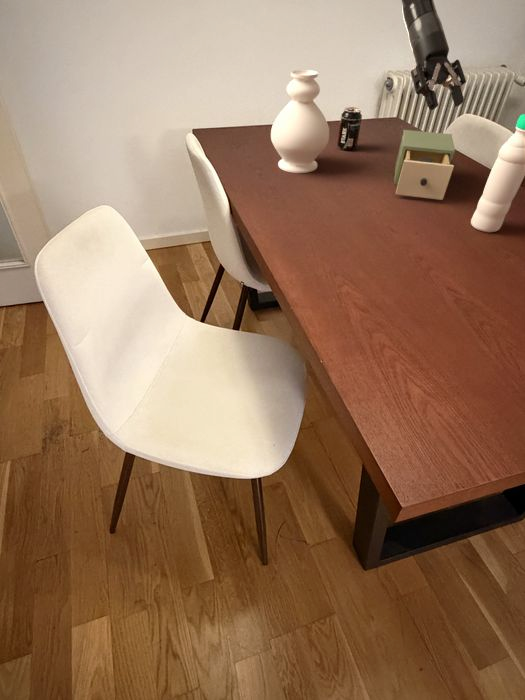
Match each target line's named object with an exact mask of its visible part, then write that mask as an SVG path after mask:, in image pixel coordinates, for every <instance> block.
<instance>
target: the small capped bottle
mask: <svg viewBox="0 0 525 700" xmlns="http://www.w3.org/2000/svg"><path fill="white" fill-rule="evenodd" d="M419 161H421V162H430V163H432V162H433V160H432V159H431V158H427V157H423V158H420V160H419Z"/></svg>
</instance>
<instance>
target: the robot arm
mask: <svg viewBox="0 0 525 700" xmlns="http://www.w3.org/2000/svg"><path fill="white" fill-rule="evenodd" d="M435 4H436V3H435V1H434V0H401V7H402V17H403V22H404V24H405V28H406V31H407V34H408V41H409V45H410V48H411V52H412V55H413V59H414V61H415V64H416V65H415V67H413V69H412V70H411V71H410V75H411V78H412V83H413V86H414V91H415V93H416V95H418V96H419V95H422V96H423V97H424V99H425V102H426V105H427V108H428V109H429V111H434V110H435V109H436V108H437V107H439V102H438V98H437V95H436V91H435V90H434V87H435V85H441V86H442V87H444V88H447V89H448V90H449V91H450V95H451V98H452V101H453V104H454V105H453V106H454V107H459V106H460V105H462V104H463V103H464V102H465V101H464V100H465V99H464V98H465V97H464V95H463V91H462V86H463V85H464V84H466V82H467V79H466V76H465V73H464V71H463V67H462V65H461V62H460V60H459V59H456V60H454V61H453V62H450V61H449V58H448V55H449V52H450V47H449V44H448V41H447V36H446V34H445V30H444V27H443V24H442V21H441V19H440V16H439V14H438V11H437V8H436V5H435ZM458 78H459V79H458ZM452 83H453V84H452Z"/></svg>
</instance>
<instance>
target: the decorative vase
mask: <svg viewBox="0 0 525 700" xmlns="http://www.w3.org/2000/svg"><path fill="white" fill-rule="evenodd" d="M290 76H291V78H293V79H292V80H290V81H289V82H288V84H287V86H286V93H287V96H289V98H290V99H291V100H290V101H289V102H288V103H287V104H286V105H285V106H284V107H283V108H282V110H281V111H280V112H278V114H277V116H276V118H275V119H274V121H273V124H272V126H271V130H270V140H271V144H272V146H273V148H274V149H275V151H276V152H277V153H278V156H280V158H281V159H280V160H279V161H278V163H277V167H278V168H279V169H280V170H282V171H283V172H286V173H293V174H307V173H312V172H314V171H316V170H317V168H318V162H317V161H316V159H317V158H318V156H319V155H320V154H321V153H322V152H323V151H324V150H325V148H326V147H327V145H328V143H329V141H330V127H329V124H328V121H327V119H326V117H325V115H324V113H323V112H322V110H321V109H320V107H319V106H318V105H317V103H316V102H315V101H314V100H315V99H316V98H317V97H318V96H319V94H320V92H321V87H320V85H319V83H318V81H316V80H315V79H316V78H317V77H318V76H319V72H318V71H316V70H312V69H295V70H290Z"/></svg>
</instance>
